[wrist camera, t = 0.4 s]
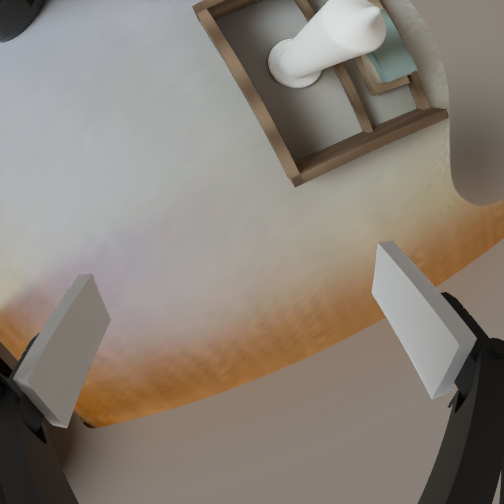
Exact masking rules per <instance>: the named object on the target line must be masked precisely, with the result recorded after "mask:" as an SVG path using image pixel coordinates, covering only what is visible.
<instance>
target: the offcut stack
mask: <svg viewBox="0 0 504 504" xmlns="http://www.w3.org/2000/svg"><path fill="white" fill-rule="evenodd" d="M367 1H369V2H370V3H372V4H373V5H374V6H376V7H378V8H379V9H380V10H381V15H382V16H383V18H384V21H385V24H386V37H385V40H384V42H383V43H382V45H381V46H380V47H379V48H377V49H376V50H374V51H372V52H369V53H366V54H363V55H360V56H358V57H355V58H354V60H355V62H356V64H357V67H358V69H359V71H360V73H361V75H362V77H363V79H364V81H365V83H366V86H367V88H368V90H369V92H370V95H378V94H381V93H383V92H386V91H389V90H391V89H394V88H397V87H400V86H402V85H405V84H408V83H410V82H409V79H408V77H407V75H410V74H412V73H411V72H414V71H416V70H418V69H417V67H416V65H415V63H414V61H413V59H412V57H411V55H410V53H409V51H408V49H407V47H406V45H405V43H404V41H403V40H402V38H401V36H400V34H399V32H398V31H397V29H396V27H395V26H394V24H393V22H392V21H391V19H390V17H389V16H388V14H387V12H386V11H385V9H383V7H382V5H381V3H380V1H379V0H367Z"/></svg>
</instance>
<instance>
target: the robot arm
mask: <svg viewBox="0 0 504 504" xmlns="http://www.w3.org/2000/svg"><path fill="white" fill-rule="evenodd" d="M44 2H45V0H0V42H6V41H9V40H11V39H13V38H14V37H16V36H17V35H19V34H20V33H21V32H22V31H23V30H25V29H26V28H27V27H28V25H29V24H30V23H31V22H32V21H33V20H34V18H35V17H36V16H37V14H38V13H39V11H40V10H41V8H42V6H43V4H44ZM372 294H373V296H374V298H375V299H376V301H377V303H378V304H379V306H380V307H381V309H382V311H383V312H384V314H385V316H386V317H387V319H388V321H389V322H390V324H391V326H392V328H393V329H394V331H395V333H396V334H397V336H398V338H399V340H400V341H401V343H402V345H403V347H404V348H405V350H406V352H407V354H408V356H409V357H410V359H411V361H412V363H413V365H414V366H415V368H416V370H417V372H418V374H419V376H420V378H421V379H422V381H423V383H424V385H425V387H426V389H427V391H428V393H429V395H430V397H431V399H434V398H436V397H439V396H442V395H444V394H447V393H448V392H449V391H450V389H451V387H452V386H453V384H454V382H455V384H456V386H457V388H458V391H457V392H456V394H455V395H454V397H453V399H452V400H451V402H450V403H449V406H448V407H449V408H450V407H451V406H452V404H453V407H452V410H451V414H450V418H449V422H448V425H447V428H446V431H445V435H444V438H443V441H442V444H441V447H440V450H439V453H438V456H437V459H436V461H435V464H434V467H433V469H432V472H431V475H430V477H429V479H428V482H427V484H426V486H425V489H424V491H423V493H422V496H421V498H420V500H419V502H418V504H492V501H493V498H494V495H495V491H496V488H497V484H498V480H499V476H500V472H501V490H500V503H499V504H504V341H503V340H500V339H498V338H489V337H488V336H487V335H486V334H485V332H484V331H483V330H482V329H481V327H480V326H479V325H478V324H477V322H476V321H475V320H474V319H473V317H472V316H471V315H469V313H468V312H467V310H466V309H465V308H463V306H462V304H461V303H460V302H459V301H458V300H457V299H456V298H455V297H453V296H452V295H450V294H449V293H447V292H444V293H440V292H439V291H438V290H437V289H436V288H435V286H434V285H433V284H432V283H431V282H430V281H429V280H428V279H427V277H426V276H425V275H424V274H423V273H422V272H421V271H420V270H419V269H418V267H417V266H416V265H415V264H414V263H413V262H412V261H411V260H410V259H409V258H408V257H407V256H406V255H405V254H404V252H403V251H402V250H401V249H400V248H399V247H398V246H397V245H396V244H395V243H394V242H393V241H388V242H379V243H378V246H377V255H376V264H375V272H374V280H373V287H372ZM110 320H111V319H110V317H109V314H108V312H107V310H106V308H105V305H104V303H103V300H102V298H101V296H100V293H99V291H98V288H97V286H96V283H95V281H94V278H93V275H92V274H86V275H79V276H78V278H77V279H76V280H75V282H74V283H73V284H72V286H71V287H70V289H69V290H68V291H67V293H66V294H65V296H64V297H63V299H62V300H61V301H60V303H59V304H58V306H57V307H56V309H55V310H54V312H53V313H52V315H51V316H50V318H49V319H48V321H47V322H46V324H45V325H44V327H43V328H42V330H41V332H40V333H38V334H37V335H36V336H35V337H34V338H33V339H32V340H31V341H30V343H29V345H28V346H27V348H26V349H25V350H26V351H24V353H23V354H22V356H21V357H22V358H20V360H19V361H18V363H17V365H16V366H15V368H14V370H13V372H12V374H11V375H10V377H9V379H8V381H6V380H5V378H4V377H3V376H2V375H1V373H0V504H79V503H78V501H77V499H76V498H75V495H74V493H73V492H72V489H71V487H70V485H69V483H68V481H67V479H66V477H65V474H64V472H63V470H62V468H61V465H60V463H59V460H58V458H57V455H56V453H55V450H54V447H53V445H52V442H51V439H50V437H49V434H48V431H47V428H46V426H45V425H44V424H43V423H42V422H43V419H44V417H46V418H47V420H48V421H50V423H51V424H52V425H55V426H59V427H64V428H67V427H68V424H69V421H70V418H71V415H72V413H73V410H74V407H75V404H76V402H77V399H78V396H79V394H80V391H81V388H82V386H83V383H84V381H85V378H86V376H87V373H88V371H89V368H90V366H91V363H92V361H93V359H94V356H95V354H96V352H97V349H98V347H99V345H100V342H101V340H102V338H103V336H104V333H105V331H106V329H107V327H108V325H109V322H110Z"/></svg>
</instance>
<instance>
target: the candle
mask: <svg viewBox="0 0 504 504" xmlns="http://www.w3.org/2000/svg"><path fill="white" fill-rule="evenodd" d="M385 37H386V24H385V21H384V18H383V16H382V15H381V10H380V9H379V8H378V7H376V6H374V5H373V4H372V3H370V2H369V1H367V0H329V1H328V2H327V3H326V4H325V5H324V6H323V7H322V8H321V9H320V10H319V11H318V12H317V13H316V14H315V15H314V17H313V18H312V19H311V20H310V21H309V22H308V23H307V24H306V25H305V26H304V28H303V29H302V30H301V31H300V32H299V33H298V34H297V35H296V37H295V38H292V39H286V40H283V41H281V42H279V43H277V44H276V45H275V46H274V47H273V48H272V50H271V52H270V54H269V57H268V66H269V70H270V72H271V74H272V76H273V77H274V78H275V79H276V80H277V81H278V82H279V83H281V84H283V85H285V86H287V87H291V88H303V87H306V86H309V85H311V84H313V83H314V82H315V81H316V80H317V79H318V78H319V76H320V74H321V72H322V70H323V69H325V68H328V67H330V66H333V65H336V64H338V63H341V62H344V61H346V60H349V59H352V58H355V57H358V56H360V55H363V54H366V53H369V52H372V51H374V50H376V49H377V48H379V47H380V46H381V45H382V43H383V42H384V40H385Z"/></svg>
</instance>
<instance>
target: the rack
mask: <svg viewBox="0 0 504 504" xmlns="http://www.w3.org/2000/svg"><path fill="white" fill-rule="evenodd" d="M258 1H261V0H204V1H202V2H200V3H198V4H196V5H194V6H192V7H193V9H194V11H195V14H196V16H197V18H198V20H199V22H200V23H201V25H202V26H203V28H204V29H205V31H206V32H207V34H208V36H209V37H210V39H211V40H212V42H213V44H214V45H215V47H216V48H217V50H218V52H219V53H220V55H221V57H222V58H223V60H224V62H225V63H226V65H227V67H228V68H229V70H230V72H231V73H232V75H233V77H234V79H235V80H236V82H237V84H238V85H239V87H240V89H241V91H242V92H243V94H244V96H245V98H246V99H247V101H248V103H249V105H250V107H251V108H252V110H253V112H254V114H255V116H256V117H257V119H258V121H259V123H260V125H261V127H262V128H263V130H264V132H265V134H266V136H267V138H268V140H269V142H270V143H271V145H272V147H273V149H274V151H275V153H276V155H277V157H278V159H279V161H280V163H281V165H282V167H283V169H284V170H285V172H286V174H287V176H288V178H289V179H290V181H291V182H292V183H293V185H294V186H295V187H297V186H299V185H301V184H303V183H305V182H307V181H310V180H312V179H314V178H316V177H318V176H320V175H322V174H324V173H326V172H328V171H330V170H332V169H335V168H337V167H339V166H341V165H343V164H345V163H347V162H349V161H352V160H354V159H356V158H358V157H360V156H362V155H365V154H367V153H369V152H371V151H373V150H375V149H378V148H380V147H382V146H384V145H386V144H389V143H391V142H393V141H395V140H398V139H400V138H402V137H404V136H407V135H409V134H411V133H414V132H416V131H418V130H421V129H423V128H425V127H427V126H430V125H432V124H435V123H437V122H439V121H442V120H444V119H446V118H449V117H448V113H447V110H446V109H440V108H431V107H430V105H429V102H428V99H427V97H426V94H425V91H424V88H423V86H422V83H421V81H420V78H419V76H418V73H417V71H414V72H411V73H412V74H410V75H407V77H408V79H409V82H410V83H408V85H409V88H410V90H411V93H412V96H413V98H414V101H415V104H416V106H417V109H416V110H413V111H411V112H408V113H406V114H403V115H401V116H398V117H396V118H394V119H391V120H389V121H386V122H384V123H382V124H379V125H377V126H375V127H372V126H371V124H370V121H369V119H368V116H367V114H366V112H365V109H364V107H363V105H362V102H361V100H360V98H359V96H358V93H357V91H356V89H355V87H354V85H353V83H352V80H351V78H350V76H349V74H348V72H347V70H346V68H345V66H344V64H343V62H341V63H338V64H336V65H333V68H334V69H335V71H336V73H337V75H338V77H339V79H340V82H341V84H342V86H343V88H344V90H345V92H346V94H347V96H348V98H349V101H350V103H351V105H352V107H353V109H354V112H355V114H356V116H357V119H358V121H359V123H360V126H361V128H362V131H363V132H361V133H359V134H356V135H354V136H352V137H350V138H347V139H345V140H343V141H341V142H338V143H336V144H334V145H332V146H330V147H328V148H325V149H323V150H321V151H319V152H317V153H315V154H313V155H310V156H308V157H306V158H304V159H302V160H300V161H298V162H296V163H294V161H293V159H292V157H291V155H290V153H289V151H288V149H287V147H286V145H285V143H284V141H283V139H282V137H281V135H280V133H279V131H278V129H277V127H276V126H275V124H274V122H273V120H272V118H271V116H270V114H269V112H268V111H267V109H266V107H265V105H264V103H263V101H262V100H261V98H260V96H259V94H258V92H257V91H256V89H255V87H254V85H253V84H252V82H251V80H250V78H249V77H248V75H247V73H246V71H245V70H244V68H243V66H242V65H241V63H240V61H239V60H238V58H237V56H236V55H235V53H234V51H233V50H232V48H231V46H230V45H229V43H228V41H227V40H226V38H225V37H224V35H223V33H222V32H221V30H220V29H219V27H218V26H217V24H216V22H215V21H214V20H216V19H218V18H221V17H223V16H225V15H227V14H229V13H232V12H234V11H236V10H239V9H241V8H243V7H246V6H248V5H251V4H253V3H256V2H258ZM379 1H380V3H381V5H382V7H383V9H385V11H386V12H387V14H388V16H389V17H390V19H391V21H392V22H393V20H392V18H391V16H390V14H389V12H388V11H387V9H386V7H385V5H384V4H383V2H382V0H379ZM295 2H296V3H297V5H298V6H299V8H300V10H301V11H302V13H303V14H304V16H305V18H306V19H307V21H308V22H309V21H310V20H311V19H312V18H313V17H314V15H315V12H314V11H313V9H312V8H311V6H310V4H309V3H308V1H307V0H295ZM393 24H394V26H395V27H396V25H395V23H394V22H393ZM396 29H397V27H396ZM397 31H398V29H397ZM398 32H399V31H398ZM399 34H400V33H399ZM400 36H401V35H400ZM401 38H402V37H401ZM402 40H403V39H402Z"/></svg>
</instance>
